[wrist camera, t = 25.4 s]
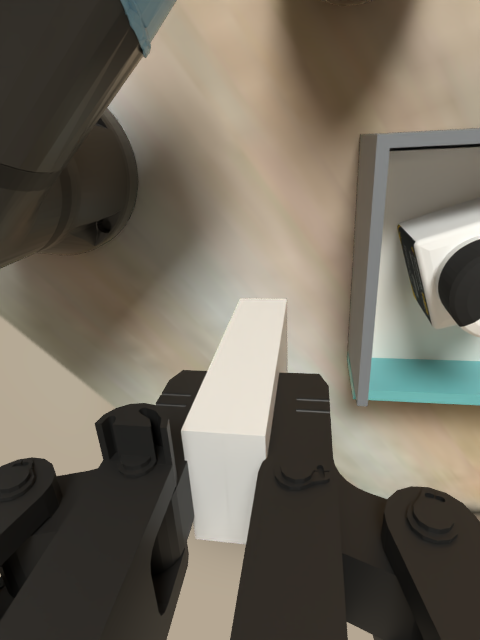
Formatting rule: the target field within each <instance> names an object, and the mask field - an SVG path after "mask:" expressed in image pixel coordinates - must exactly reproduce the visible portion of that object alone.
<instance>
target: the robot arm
mask: <svg viewBox="0 0 480 640" xmlns="http://www.w3.org/2000/svg"><path fill="white" fill-rule="evenodd" d="M175 2H176V0H0V268H3V267H5V266H7V265H9V264H12V263H14V262H16V261H18V260H21V259H23V258H25V257H28V256H30V255H32V254H34V253H43V254H56V255H74V254H80V253H84V252H87V251H90V250H93V249H95V248H97V247H99V246H101V245H103V244H105V243H106V242H108V241H110V240H111V239H112V238H114V237H115V236H116V235H117V234H118V233H119V232H120V231H121V230H122V229H123V227H124V226H125V225H126V223H127V221H128V220H129V218H130V216H131V213H132V211H133V208H134V205H135V201H136V196H137V186H138V178H137V168H136V162H135V158H134V154H133V151H132V148H131V145H130V143H129V140H128V138H127V136H126V134H125V132H124V130H123V129H122V127H121V125H120V124H119V122H118V121H117V119H116V118H115V117H114V116H113V114H112V113H111V112H110V111H109V110H108V109H107V107H108V106H109V104H110V103H111V101H112V100H113V98H114V97H115V96H116V94H117V93H118V91H119V90H120V88H121V87H122V86H123V84H124V83H125V81H126V80H127V78H128V77H129V75H130V74H131V73H132V71H133V70H134V68H135V67H136V65H137V64H138V63H139V61H140V60H141V58H142V57H143V56H144V57H145V58H146V57H147V56H148V54H149V53H150V49H151V44H150V43H151V41H152V40H153V38H154V36H155V35H156V33H157V31H158V30H159V28H160V27H161V25H162V23H163V22H164V20H165V18H166V17H167V15H168V13H169V12H170V10H171V9H172V7H173V5H174V4H175ZM95 426H96V431H97V435H98V439H99V443H100V447H101V452H102V456H103V462H102V463H101V465H100V466H99V468H98V469H94V470H90V471H86V472H79V473H73V474H68V475H62V476H56V473H55V471H54V468H53V465H52V463H50V462H48V461H47V460H45V459H41V458H27V459H20V460H16V461H14V462H11V463H8V464H6V465H3V466H1V467H0V574H1V577H0V640H166V639H167V636H168V632H169V629H170V625H171V622H172V618H173V615H174V611H175V608H176V604H177V601H178V597H179V594H180V591H181V587H182V584H183V580H184V577H185V573H186V570H187V566H188V555H189V554H188V546H187V539H188V536H189V533H190V530H191V526H192V523H193V524H194V532H195V538H196V539H201V540H211V541H219V542H228V543H238V544H246V548H245V554H244V560H243V566H242V572H241V578H240V584H239V590H238V596H237V602H236V608H235V614H234V620H233V626H232V632H231V638H230V640H348V638H347V624H346V622H349V623H351V624H353V625H355V626H357V627H359V628H361V629H363V630H365V631H367V632H369V633H371V634H373V638H374V640H480V522H479V520H478V519H477V518H476V516H475V515H474V514H473V513H472V512H471V511H470V510H469V509H468V508H467V507H466V506H465V505H464V504H463V503H462V502H460V501H458V500H457V499H455V498H453V497H452V496H450V495H448V494H447V493H444V492H441V491H438V490H435V489H432V488H428V487H408V488H404V489H401V490H397V491H396V492H395V493H394V494H393V495H391V496H390V497H389V498H388V499H385V498H382V497H379V496H376V495H373V494H370V493H367V492H365V491H363V490H361V489H358V488H356V487H355V486H353V485H352V484H351V483H349V482H348V481H346V480H345V479H344V478H343V477H342V475H341V474H340V473H339V472H338V470H337V468H336V467H335V464H334V460H333V451H332V435H331V418H330V402H329V386H328V385H327V383H326V382H325V381H324V380H323V378H322V377H321V376H320V374H304V373H287V299H248V298H240V300H239V302H238V304H237V306H236V308H235V311H234V313H233V315H232V317H231V320H230V322H229V324H228V326H227V329H226V331H225V333H224V335H223V338H222V340H221V342H220V344H219V347H218V349H217V351H216V353H215V355H214V358H213V360H212V362H211V364H210V367H209V369H208V371H191V370H183V371H181V372H180V373H179V374H177V375H176V376H175V377H173V378H172V379H170V380H169V382H168V383H167V385H166V387H165V389H164V390H163V392H162V395H160V397H159V399H158V400H157V402H156V405H151V404H146V403H139V404H129V405H125V406H122V407H118V408H116V409H114V410H112V411H110V412H108V413H106V414H105V415H103V416H102V417H101V418H100V419H99V420H98V421H97V422H96V423H95Z"/></svg>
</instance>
